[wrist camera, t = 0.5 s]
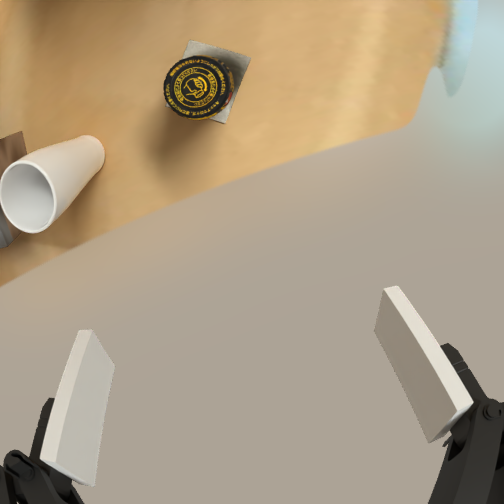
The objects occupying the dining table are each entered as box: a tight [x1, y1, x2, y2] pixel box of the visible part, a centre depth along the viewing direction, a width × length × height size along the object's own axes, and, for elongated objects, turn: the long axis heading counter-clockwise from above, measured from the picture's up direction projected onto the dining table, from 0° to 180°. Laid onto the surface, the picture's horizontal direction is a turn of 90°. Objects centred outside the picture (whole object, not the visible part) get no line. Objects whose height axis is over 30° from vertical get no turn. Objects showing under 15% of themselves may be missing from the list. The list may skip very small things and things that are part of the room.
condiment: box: [164, 40, 251, 123], centre depth 25 cm, size 7×8×12 cm
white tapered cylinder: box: [0, 135, 105, 233], centre depth 26 cm, size 7×7×15 cm
